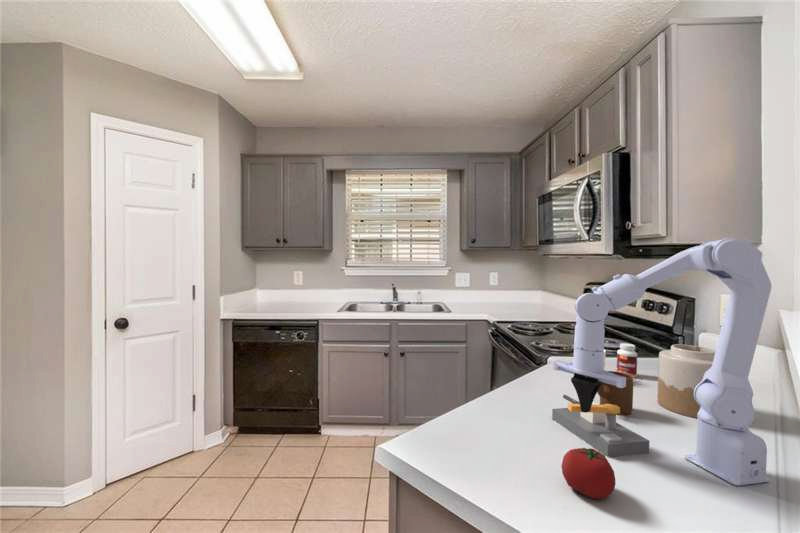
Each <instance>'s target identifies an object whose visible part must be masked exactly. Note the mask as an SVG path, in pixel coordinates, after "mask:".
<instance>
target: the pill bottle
mask: <svg viewBox="0 0 800 533" xmlns="http://www.w3.org/2000/svg"><path fill="white" fill-rule="evenodd" d="M619 348H620V349H617V351H616V370H615V372H621V373H625V374H628V375H630V376H632V377H634V378H637V374H638V373H637V372H638V353H637V352H636V345H635V344H631V343H626V342H625V343H624V342H623V343H622V342H621V343H619Z"/></svg>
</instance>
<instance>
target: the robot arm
mask: <svg viewBox="0 0 800 533" xmlns="http://www.w3.org/2000/svg"><path fill="white" fill-rule="evenodd" d="M703 270H704V271H706V272H708V273H710V274H712V275H713V276H715V277H717V278H718V279H719V280H720V281H721V282H723V284H724V285H726V287H727V288H728V289H729V290H730V292H729V295H728V296H729V297H728V301H727V305H726V307H725V308H726V310H725V312H724V315H723V316H724V317H723V319H722V324H721V328H720V329H721V330H720V332H719V336H718V340H717V345H716V349H715V351H716V352H715V356H714V360H713V364H712V367H711V368H710V369H709V370H707V371H706V372H705V373H704V377H703V379H702V381H701V382H700V383H699V384H698V385H697V386H696V387H695V389H694V398H695V400H696V402H697V403H698V404H699V405H700V410H699V412H698V413H697V418H696V420H697V422H696V452H695V453H696V454H695V453H694V454H686V455H683V456H684V459H685V460H687V461H689V462H691V463H692V464H695V465H697V466H698V467H700V468H702V469H704V470H706V471H708V472H709V473H711V474H713V475H715V476H717V477H719V478H720V479H722V480H724V481H726V482H728V483H730V484H732V485H733V486H745V485H746V486H747V485H751V484H754V485H755V484H761V483H768V482H770V478H768V477H767V459H768V458H767V456H768V455H767V453H768V450H767V449H768V448H767V444H766V442H765V440H764V438H762V437H761V436H759V435H757V434H755V433H753V432H752V430H750V429H749V428H748V427H749V426H750V425H751V424H752V423H753V421H754V420H755V416H756V410H755V408H754V405H753V398H754V391H753V388H752V385H751V382H750V381H749V375H750V371H751V367H752V366H753V365H752V364H753V360H754V357H755V353H756V349H757V344H758V341H759V338H760V333H761V330H762V325H763V321H764V318H765V314H766V310H767V306H768V302H769V300H770V299H769V298H770V295H771V291H772V282H771V279H770V278H769V275H768V272H767V269H766V268H765V265H764V263H763V252H762V251H761V250H760V249H759V248H758V247H756V246H755V244H752V243H751V241H749V240H747V239H744V238H743V237H736V236H735V237H734V236H733V237H732V236H731V237H725V238H723V239H719V240H718V239H717V240H708V241H705V242H703V243H701V244H700V245H695V246H692V247H689V248H687V249H685V250H681V251H680V252H678V253H675V254H674V255H672V256H670V257H669V258H667V259H664V260H663V261H661V262H659V263H657V264H655V265H654V266H651V267H650V268H648V269H647V270H644V271H643V272H641V273H639V274H637V275H633V274H629V273H625V274H623V275H621V274H618V273H617V274H616V275H614V276H612V280H611V281H608V282H607V283H605V284H603V285H601V286H599V287H597V286H593V287H592V288H591V291H592V292H586V293H582V294H581V295H580V296H579V297H578V298H577V299H576V301H575V303H574V309H575V312H576V313H577V314H576V318H575V326H574V339H573V340H574V341H573V343H574V344H573V358H572V361H573V362H567V361H564V360H554V361H553V370H554V371H559V372H560V371H561V372H563V373H564V372H565V373H568V374H571V375H573V376H572V377H571V378H570V382H571V384H572V385H573V387H574V390H575V392H576V394H577V398H578V402H580V407H581V411H582V412H585V413H587V412H589V411H590V409H591V405H592V403H594V399H595V397H596V395H598V393H597V392H598V390H599V389H600V387H601V386H602V384H603V382H604V383H608V384H611V385H615V386H616V387H619V388H624V387H626V377H623V376H619V375H616V374H613V373H611V372H608V371H609V370H606V369H604V370H603V354H604V350H605V333H606V332H605V318H607V316H608V314H609V312H615V311H617V310H620V309H621V308H623V307H626V306H627V305H628V306H629V305H630V304H632V303H634V302H636V301H638V300H640V299H643V298H644V295H645V292H646V290H647V289H648V288H651V287H653V286H655V285H658V284H660V283H663V282H665V281H667V280H670V279H671V278H674V277H675V276H678V275H680V274H683V273H685V272H687V271H703Z"/></svg>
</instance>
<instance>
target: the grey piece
mask: <svg viewBox="0 0 800 533" xmlns="http://www.w3.org/2000/svg"><path fill="white" fill-rule="evenodd" d="M551 416H552V417H551V419H552V420H553V421H555V422H556V423H558V424H559V425H560V426H562V427H564V428H565V429H566V430H568V431H569V432H570V433H572V434H574V435H575V436H577V437H578V438H580V439H581V440H583V441H584V442H585V443H587V444H589V445H590V446H591V447H593V449H595V450H596V451H598V452H600V453H601V454H603V455H604V456H605V457H606V458H611V457H619V456H620V457H621V456H629V455H639V454H640V455H641V454H649V453H650V440H649V439H647V438H646V437H644V436H642V435H640V434H639V433H637V432H634V431H632V430H631V429H629V428H628V427H626V426H624V425H622V424H619V423H618V422H617V414H609V413H606V417H605V423H591V422H589V421H588V420H586V419H584V418H583V417H581V416H580V412H571V411H570V410H569V409H568V407H561V408H560V407H558V408H552V413H551Z"/></svg>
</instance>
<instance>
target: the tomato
mask: <svg viewBox="0 0 800 533" xmlns="http://www.w3.org/2000/svg"><path fill="white" fill-rule="evenodd" d="M561 470H562V471H561V472H562V475H563V478H564V480H565V481H566V484H567V486H569V487H570V488H571V489H572V490H574V491H577V492H579V493H581V494H582V495H583V496H586V497H588V498H589V499H596V500H597V499H598V500H604V499H606V498H608V497H609V496H610V495H611V494H612V493H613V492H614V490H615V487H616V484H617V482H616V476H615V475H616V474H615V471H614V469H613V467H612V465H611V463H610V462H609V460H608V459H607V456H606V455H604V454H603V453H601V452H600V451H598V450H597V449H595V448H592V447H591V448H585V447H578V448H573V449H569V450H568V451H567V452H566V453H565V454H564V455H563V458H562V462H561Z"/></svg>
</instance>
